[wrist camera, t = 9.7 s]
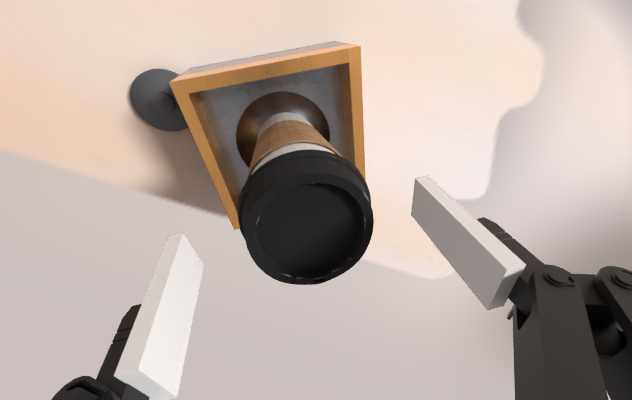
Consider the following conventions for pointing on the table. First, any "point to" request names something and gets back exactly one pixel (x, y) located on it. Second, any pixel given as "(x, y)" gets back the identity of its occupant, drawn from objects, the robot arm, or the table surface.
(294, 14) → the table surface
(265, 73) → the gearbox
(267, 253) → the coffee cup
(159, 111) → the disc
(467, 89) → the table surface
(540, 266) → the robot arm
